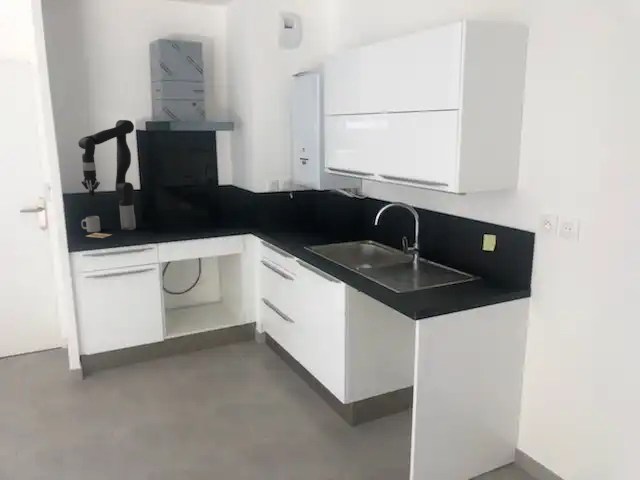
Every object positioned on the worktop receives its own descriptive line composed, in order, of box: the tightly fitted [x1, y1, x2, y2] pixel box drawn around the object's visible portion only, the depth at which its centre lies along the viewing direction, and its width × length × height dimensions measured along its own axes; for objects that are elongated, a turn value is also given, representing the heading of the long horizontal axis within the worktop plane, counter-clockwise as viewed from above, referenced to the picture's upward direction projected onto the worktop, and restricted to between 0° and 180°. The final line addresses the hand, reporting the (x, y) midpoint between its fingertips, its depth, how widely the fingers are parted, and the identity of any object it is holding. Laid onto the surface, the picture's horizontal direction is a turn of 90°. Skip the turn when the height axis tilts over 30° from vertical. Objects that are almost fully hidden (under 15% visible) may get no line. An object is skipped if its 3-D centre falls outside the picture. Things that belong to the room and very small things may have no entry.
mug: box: [80, 215, 101, 233], centre depth 357 cm, size 12×8×11 cm
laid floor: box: [96, 233, 113, 239], centre depth 345 cm, size 11×14×2 cm
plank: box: [85, 232, 104, 238], centre depth 346 cm, size 10×7×1 cm
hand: (92, 195), depth 343 cm, fingers closed
